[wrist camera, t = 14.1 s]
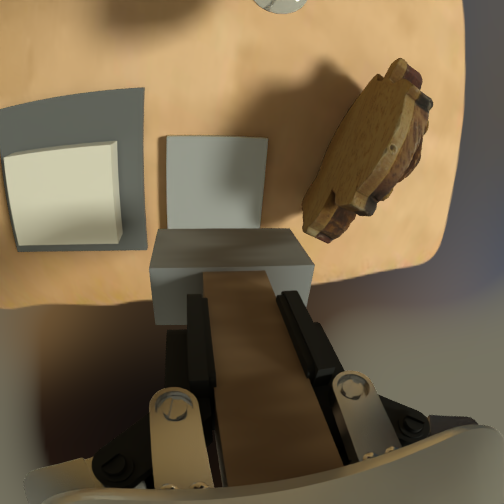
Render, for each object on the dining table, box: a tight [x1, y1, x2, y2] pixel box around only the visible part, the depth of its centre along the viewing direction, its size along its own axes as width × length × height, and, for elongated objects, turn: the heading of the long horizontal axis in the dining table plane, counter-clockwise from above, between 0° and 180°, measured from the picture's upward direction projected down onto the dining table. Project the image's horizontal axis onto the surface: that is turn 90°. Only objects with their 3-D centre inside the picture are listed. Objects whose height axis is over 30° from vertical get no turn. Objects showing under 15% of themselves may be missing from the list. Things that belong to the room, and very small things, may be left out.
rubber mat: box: [0, 88, 148, 252], centre depth 23 cm, size 14×14×1 cm
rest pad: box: [166, 135, 268, 229], centre depth 26 cm, size 8×9×1 cm
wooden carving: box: [302, 58, 433, 243], centre depth 21 cm, size 16×5×10 cm, turn 158°
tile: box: [4, 141, 123, 246], centre depth 22 cm, size 10×2×8 cm
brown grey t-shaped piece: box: [149, 228, 344, 487], centre depth 10 cm, size 7×3×15 cm, turn 86°
